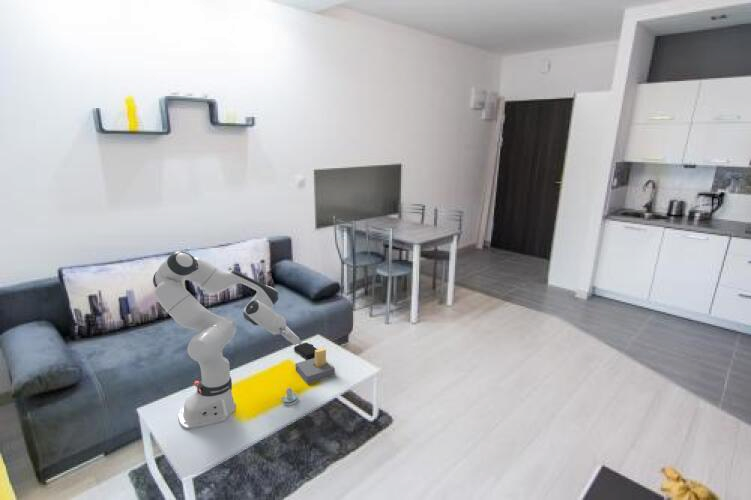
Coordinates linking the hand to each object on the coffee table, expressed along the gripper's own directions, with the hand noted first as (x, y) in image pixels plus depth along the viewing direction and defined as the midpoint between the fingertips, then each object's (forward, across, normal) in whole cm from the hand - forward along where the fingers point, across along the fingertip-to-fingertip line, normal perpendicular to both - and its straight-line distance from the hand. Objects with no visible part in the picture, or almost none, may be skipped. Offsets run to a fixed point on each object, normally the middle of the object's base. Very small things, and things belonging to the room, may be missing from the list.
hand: (296, 338), depth 193 cm
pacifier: (+8, -16, +22) cm, 29 cm away
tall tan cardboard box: (+24, -1, +6) cm, 24 cm away
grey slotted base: (+22, -1, +8) cm, 23 cm away
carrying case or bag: (+26, +20, +4) cm, 33 cm away
